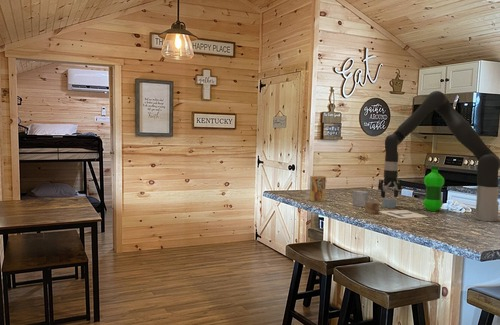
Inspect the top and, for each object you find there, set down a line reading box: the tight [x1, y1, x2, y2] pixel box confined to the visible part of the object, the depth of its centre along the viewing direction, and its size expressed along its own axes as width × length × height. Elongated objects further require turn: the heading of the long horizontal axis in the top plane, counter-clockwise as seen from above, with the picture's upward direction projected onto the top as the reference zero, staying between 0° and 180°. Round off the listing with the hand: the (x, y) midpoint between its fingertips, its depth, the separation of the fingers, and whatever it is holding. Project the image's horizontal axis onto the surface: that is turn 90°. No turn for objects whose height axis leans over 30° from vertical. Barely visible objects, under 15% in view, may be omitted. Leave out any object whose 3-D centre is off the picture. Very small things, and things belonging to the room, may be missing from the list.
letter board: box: [379, 209, 429, 219], centre depth 220 cm, size 18×18×1 cm
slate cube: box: [382, 198, 397, 209], centre depth 240 cm, size 5×5×5 cm
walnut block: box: [364, 201, 380, 215], centre depth 221 cm, size 5×5×6 cm
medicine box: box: [352, 190, 370, 208], centre depth 243 cm, size 8×4×9 cm, turn 47°
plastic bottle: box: [422, 165, 445, 212], centre depth 234 cm, size 10×11×25 cm
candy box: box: [309, 175, 327, 202], centre depth 259 cm, size 9×4×15 cm, turn 103°
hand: (389, 197), depth 240 cm, fingers open, 8 cm apart
